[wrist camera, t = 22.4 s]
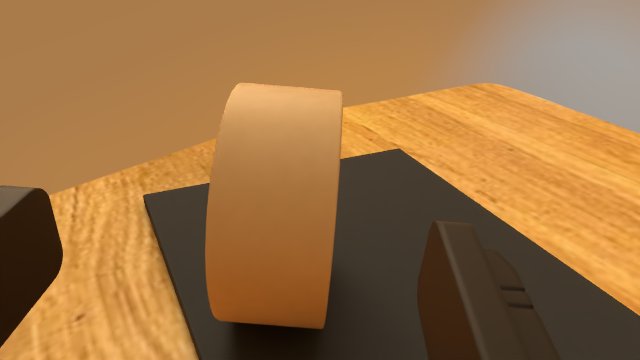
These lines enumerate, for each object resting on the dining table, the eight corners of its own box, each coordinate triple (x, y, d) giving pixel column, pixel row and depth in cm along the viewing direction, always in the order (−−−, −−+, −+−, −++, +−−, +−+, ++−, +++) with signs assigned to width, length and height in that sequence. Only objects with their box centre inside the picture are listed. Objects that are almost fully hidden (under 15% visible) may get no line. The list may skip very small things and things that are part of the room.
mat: (144, 202, 29) (142, 194, 29) (398, 154, 38) (399, 148, 38) (285, 605, 13) (285, 596, 12) (678, 355, 21) (684, 346, 21)
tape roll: (201, 377, 17) (201, 101, 14) (249, 251, 26) (255, 72, 23) (322, 387, 17) (349, 114, 14) (326, 257, 26) (342, 79, 23)
